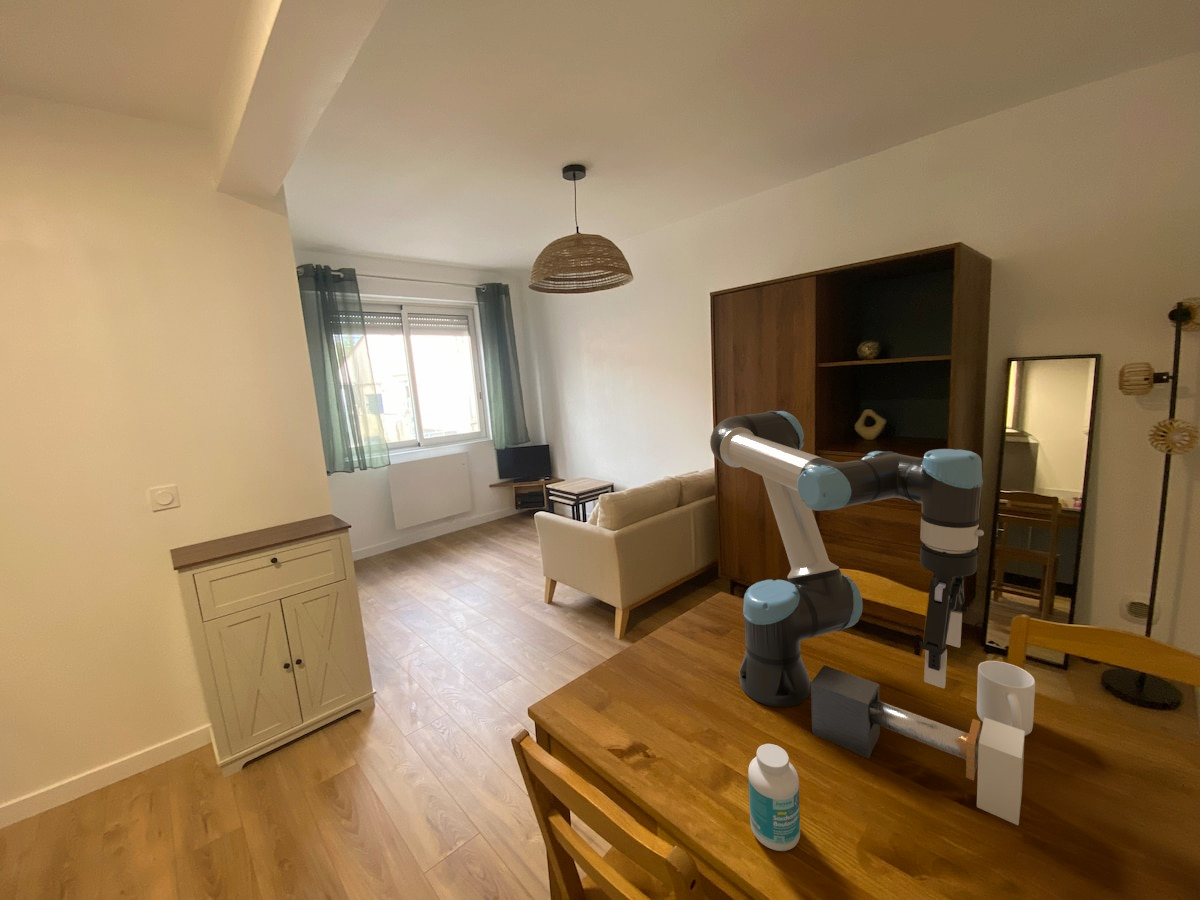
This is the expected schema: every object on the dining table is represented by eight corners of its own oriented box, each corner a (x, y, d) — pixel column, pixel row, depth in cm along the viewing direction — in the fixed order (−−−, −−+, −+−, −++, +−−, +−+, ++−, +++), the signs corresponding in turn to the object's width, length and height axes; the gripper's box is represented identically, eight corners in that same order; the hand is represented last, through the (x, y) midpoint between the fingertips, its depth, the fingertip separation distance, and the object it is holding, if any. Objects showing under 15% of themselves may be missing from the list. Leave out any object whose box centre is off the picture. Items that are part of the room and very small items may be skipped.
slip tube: (857, 731, 87) (856, 700, 86) (867, 712, 92) (867, 682, 91) (998, 790, 73) (999, 754, 72) (1002, 764, 78) (1003, 729, 77)
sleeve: (812, 733, 93) (810, 682, 92) (825, 713, 98) (823, 665, 96) (868, 758, 86) (868, 704, 85) (879, 735, 91) (879, 684, 89)
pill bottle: (780, 864, 70) (776, 784, 68) (740, 826, 76) (736, 752, 74) (811, 834, 74) (808, 757, 71) (770, 801, 80) (767, 729, 78)
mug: (1046, 758, 83) (1049, 705, 81) (986, 745, 87) (988, 694, 85) (1024, 713, 93) (1027, 665, 92) (972, 703, 97) (973, 657, 96)
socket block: (976, 806, 75) (978, 742, 74) (982, 778, 80) (984, 717, 79) (1018, 825, 72) (1021, 758, 70) (1021, 794, 77) (1024, 730, 75)
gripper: (964, 580, 66) (957, 714, 69) (988, 526, 83) (981, 636, 86) (901, 567, 71) (898, 693, 75) (936, 519, 88) (932, 623, 92)
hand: (943, 663), depth 81 cm, fingers open, 13 cm apart
